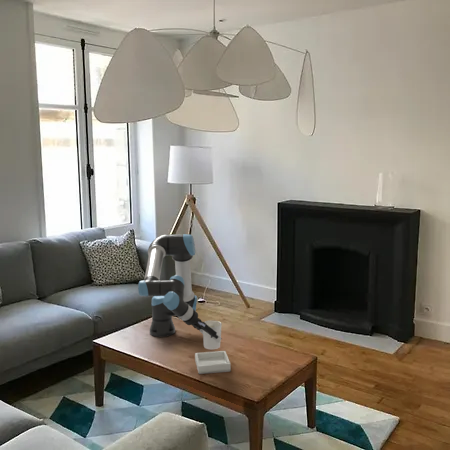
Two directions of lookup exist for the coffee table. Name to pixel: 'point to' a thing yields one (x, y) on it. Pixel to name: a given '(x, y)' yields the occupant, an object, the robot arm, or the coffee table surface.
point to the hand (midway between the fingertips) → (213, 337)
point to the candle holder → (207, 340)
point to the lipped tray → (212, 362)
